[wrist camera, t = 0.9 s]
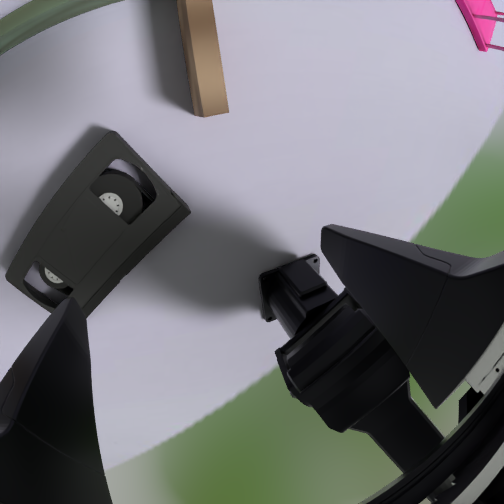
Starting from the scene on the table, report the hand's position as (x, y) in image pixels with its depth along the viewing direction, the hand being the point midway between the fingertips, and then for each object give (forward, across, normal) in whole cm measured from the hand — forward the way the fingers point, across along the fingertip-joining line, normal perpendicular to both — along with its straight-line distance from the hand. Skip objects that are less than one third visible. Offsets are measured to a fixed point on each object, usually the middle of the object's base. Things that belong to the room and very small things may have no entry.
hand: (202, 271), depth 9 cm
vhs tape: (+12, +7, +2) cm, 14 cm away
